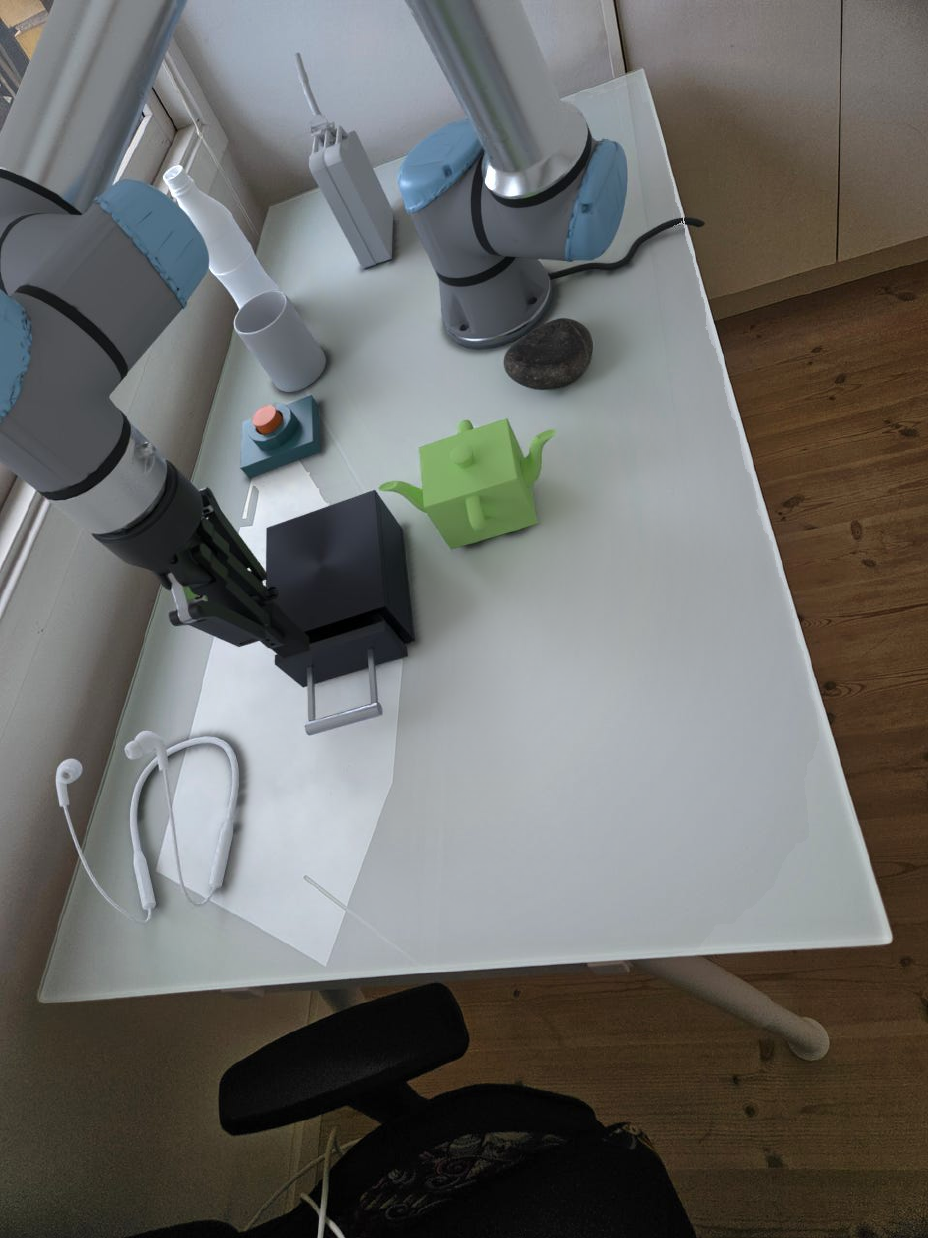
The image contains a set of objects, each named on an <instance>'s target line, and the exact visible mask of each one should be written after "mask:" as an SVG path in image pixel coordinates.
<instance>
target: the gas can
mask: <svg viewBox="0 0 928 1238" xmlns="http://www.w3.org/2000/svg"><path fill="white" fill-rule="evenodd" d="M292 58H293V61H294V64H295V68H296V71H297V77H298V80H299V83H300V85H301V87H302V90H303V93H304V96H305V98H306V100H307V103H308V104H309V107H310V110H311V112H312V114H313V117H312V119H311V121H310V122H309V124H310V136H313V143H312V150H311V154H309V158H308V166H309V170H310V172H311V175H312V177H313V178H314V180H315V182H316V184H317V186H318V188H319V190H320V191H321V193H322V195H323V197H324V199H325V201H326V203H327V205H328V207H329V208H330V210H331V212H332V214H333V216H334V218H335V220H336V222H337V223H338V225H339V227H340V229H341V230H342V233H343V234H344V235H343V236H344V237H345V238H346V240H347V242H348V245H350V248H351V249H352V251H353V253H354V255H355V257H356V259H357V261H358V263H359V264H360V266H361V268H362V269H368V268H370V267H372V266H376V265H377V264H381V263H384V262H387V261H390V260H392V258H393V233H394V232H393V229H394V211H393V208H392V206H391V203H390V202H389V200H388V197H387V195H386V193H385V191H384V189H383V187H382V184H381V182H380V181H379V178H378V176H377V174H376V171H375V169H374V168H373V165H372V163H371V161H370V159H369V157H368V155H367V153H366V150H365V148H364V146H363V144H362V141H361V140H360V138H359V135H358V134H357V133H358V132H357V131H356V130H351V131H349V132H347V131H346V130H345V129H344V128H343V126H341V125H338V126H337V127H336V126H335V121H332V122H330V121H329V120H328V119H327V118H326V116H325V115H323V114H322V111H321V110H320V109H319V106H318V103H317V101H316V98H315V96H314V93H313V91H312V89H311V86H310V83H309V81H310V80H309V77H308V73H307V72H306V70H305V66H304V63H303V59H302V56H301V53H300V52H295V53H294V54H292Z"/></svg>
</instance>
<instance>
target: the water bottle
mask: <svg viewBox="0 0 928 1238" xmlns="http://www.w3.org/2000/svg"><path fill="white" fill-rule="evenodd" d="M162 178H163V181H164V182H165V184H166V185H167V186H168V188H169V192H170V193H171V196H172V197H173V198H175V199H176V201H177V204H178V205H179V206H180V207H181V208H182V209H183V210H184V212H185V213H186V214H187V215H188V216H189V217H190V219H191V221H192V222H193V223H194V225H195V226H196V228H197V230H198V231H199V232H200V233H201V235H202V237H203V238H204V241H205V243H206V246H207V249H208V253H209V268H208V270H210V272H211V273H212V274H213V275H214V276H215V277H216V278H217V279H218V281H220V283H222V285H223V286H224V287H225V289H226V290H227V291H228V293H229V294H230V296H231V297H232V299H233V300H234V302H235V303H236V306H237V308H238V311H239V310H240V309H241V307H242V306H243V305H244V304H245V303H246V302H248V301H249V300H250V299H252V298H253V297H255V296H257V295H258V294H261V293H263V292H267V291H273V290H279V291H281V292H283V291H282V289H281V287H280V286H279V285H277V284H276V283H275V281H273V279H272V278H271V277H270V276H269V275H268V274H267V272H266V271H265V269H264V268H263V266H262V265H261V263H260V262H259V260H258V258H257V256H256V253H255V251H254V249H253V246H252V244H251V243H250V241H249V240H248V238H247V237H246V236H245V234H244V232H243V231H242V229H241V227H240V226H239V225H238V223H237V222H236V220H235V218H234V217H233V216H234V215H233V214H232V212H231V211H230V210H229V209H228V208H227V207H226V205H224V204H222V203H221V202H219V201H218V200H217V199H216V198H213V197H212V196H210V195H208V194H207V193H204V192H203V191H201V189H200V188H198V186H197V185H196V182H195V180H194V178H192V177H191V176H190V175H188V173H187V172H186V170H185V169H184V167H183V166H181V165H180V164H179V165H174V166H172V167H171V168H169V169H168V170H166V172H165V173H164V174H163V176H162Z"/></svg>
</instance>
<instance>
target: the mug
mask: <svg viewBox="0 0 928 1238" xmlns="http://www.w3.org/2000/svg"><path fill="white" fill-rule="evenodd" d="M281 291H282V290H281ZM281 291H279V290H273V291H267V292H263V293H261V294H258V295H257V296H255V297H253V298H252V299H250V300H249V301H248V302H246V303H245V304H244V305H243V306H242V307H241V309H240V310H239V309H238V311H237V313H236V315H235V317H234V319H233V328H234V330H235V332H236V334H237V335H238V336H239V338H240V339H241V341H242V342H243V343H244V345H245V346H246V347H247V349H248V350H249V352H251V354H252V356H253V357H254V358H255V359H256V361H257V362H258V363H259V365H260V366H261V367H262V369H263V370H264V372H266V374H267V376H268V377H269V379H270V380H271V382H272V383H273V385H275V387H276V388H277V389H278V390H279V391H282V392H285V393H294V392H298V391H301V390H303V389H306V388H307V387H309V386H311V385H312V384H313V383H314V382H316V381H317V380H318V379H319V378H320V377H321V375H322V374H323V372H324V370H325V367H326V365H327V364H326V363H327V358H326V354H325V352H324V350H322V348H321V346H320V345H319V343H318V342H317V340H316V339H315V337H314V336H313V335H312V332H311V331H310V330H309V328H308V326H307V325H306V324H305V322H304V321H303V319H302V317H301V315H300V314H299V313H298V311H297V310H296V307H295V306H294V305H293V303H292V302H291V300H290V299H289V297H288V296H287V295H286V294H285V293H284V292H283V291H282V292H281Z"/></svg>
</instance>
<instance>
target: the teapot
mask: <svg viewBox="0 0 928 1238" xmlns="http://www.w3.org/2000/svg"><path fill="white" fill-rule="evenodd" d="M556 434H557V430H556V429H546V430H544V431H542V432H539V433H537V434H536V435H535V436H534V437H533V439H532V440H531V442H530V445H529V451H528V455H526V457H525V455H524V452H523V450H522V448H521V446H520V443H519V441H518V439H517V437H516V435H515V433H514V430H513V428H512V426H511V423H510V421H509V419H508V418H503V419H499V420H496V421H493V422H490V423H487V424H483V425H481V426H478V427H474V424H473V423H472V422H471V420H470V419H465V418H464V419H462V420H460V421H459V423H458V424H457V434H453V435H450V436H447V437H444V438H441V439H439V440H436V441H433V442H430V443H427V444H424V445H422V446H421V445H420V446H419V447H418V452H419V464H420V465H419V466H420V473H421V474H420V475H421V476H420V478H421V487H417V486H415V485H413V484H410V483H409V482H406V481H402V480H389V481H386V482H384V483H382V484H380V485H379V486H378V490H379V491H381V492H393V493H396V494H399V495H400V496H403V498H405V499H406V500H407V501H408V502H410V503H411V505H413V506H414V507H415V508H416V509H417V510H419V511H421V513H424V514H426V515H427V516H428V517H429V519H430V521H431V522H432V523H433V525H434V527H435V528H436V530H437V531H438V533H439V534H440V536H441V537H442V539H443V540H444V542H445V543H446V545H447V547H448V548H449V549H450V550H453V549H456V548H460V547H464V546H466V545H471V544H472V545H473V544H477V543H478V542H481V541H484V540H487V539H491V538H494V537H498V536H500V535H504V534H507V533H511V532H517V531H520V530H522V529H525V528H527V527H530V526H534V525H538V524H539V521H538V516H537V510H536V509H537V508H536V505H535V504H536V503H535V499H534V493H533V487H532V486H534V484H535V483H536V482H537V481H538V479H539V477H540V475H541V472H542V466H543V451H544V450H543V449H544V447H545V445H546V444H547V442H548V441H550V440H551V439H552V438H553V437H554V436H555V435H556Z"/></svg>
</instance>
